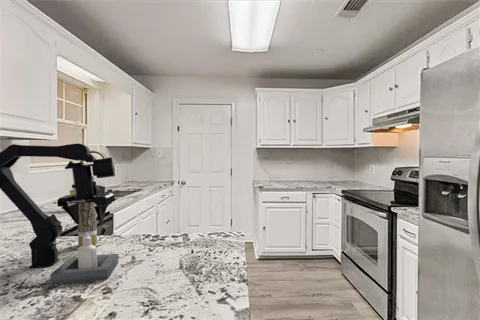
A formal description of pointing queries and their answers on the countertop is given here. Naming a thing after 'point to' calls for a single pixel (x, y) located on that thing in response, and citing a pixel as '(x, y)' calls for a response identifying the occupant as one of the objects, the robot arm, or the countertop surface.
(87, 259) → the eye dropper bottle
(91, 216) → the wooden log
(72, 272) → the hollow square frame
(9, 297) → the countertop surface
